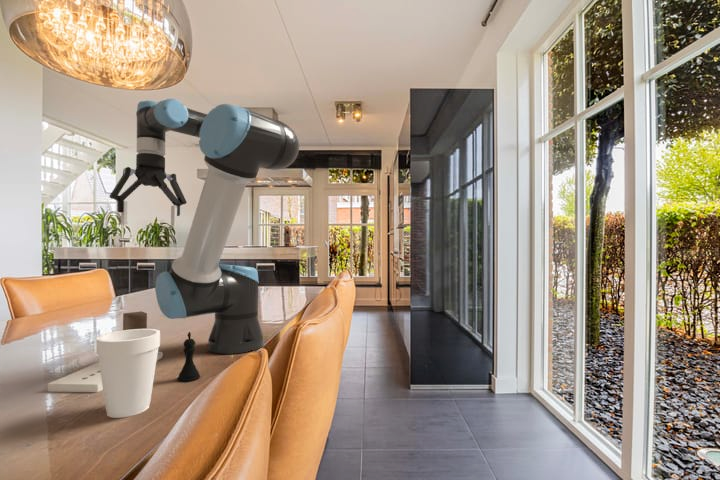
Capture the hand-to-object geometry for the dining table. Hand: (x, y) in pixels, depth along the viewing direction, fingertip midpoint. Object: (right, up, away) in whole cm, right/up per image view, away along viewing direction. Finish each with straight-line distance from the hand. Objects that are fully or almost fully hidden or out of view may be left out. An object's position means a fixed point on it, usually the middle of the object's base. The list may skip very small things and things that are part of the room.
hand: (150, 225), depth 109 cm
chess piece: (+26, -34, -30) cm, 53 cm away
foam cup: (+23, -34, -45) cm, 61 cm away
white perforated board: (+7, -34, -27) cm, 44 cm away
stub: (+7, -33, -19) cm, 39 cm away
